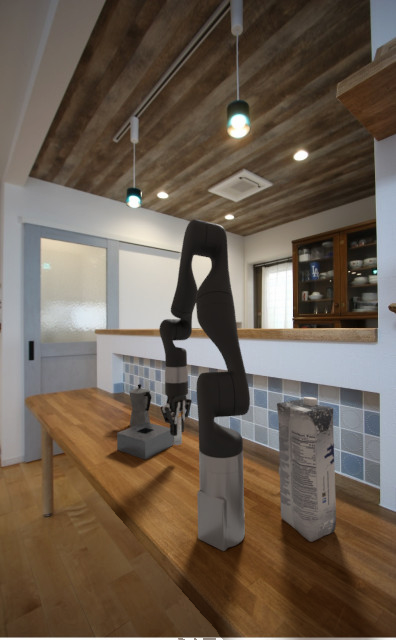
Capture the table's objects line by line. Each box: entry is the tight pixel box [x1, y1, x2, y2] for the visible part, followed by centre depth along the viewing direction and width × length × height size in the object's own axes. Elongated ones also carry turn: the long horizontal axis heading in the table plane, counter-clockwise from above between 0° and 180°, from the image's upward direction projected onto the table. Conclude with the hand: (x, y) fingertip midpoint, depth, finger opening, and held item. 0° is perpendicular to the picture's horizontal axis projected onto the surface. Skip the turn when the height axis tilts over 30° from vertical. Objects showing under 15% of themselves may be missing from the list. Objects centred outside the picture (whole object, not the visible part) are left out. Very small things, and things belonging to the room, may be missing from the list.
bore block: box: [116, 422, 174, 460], centre depth 105 cm, size 14×14×6 cm
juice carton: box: [276, 396, 337, 543], centre depth 63 cm, size 9×10×27 cm
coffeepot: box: [128, 383, 152, 428], centre depth 129 cm, size 15×9×18 cm, turn 43°
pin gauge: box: [172, 411, 183, 446], centre depth 95 cm, size 3×3×10 cm
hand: (177, 433), depth 95 cm, fingers closed on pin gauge, 2 cm apart
